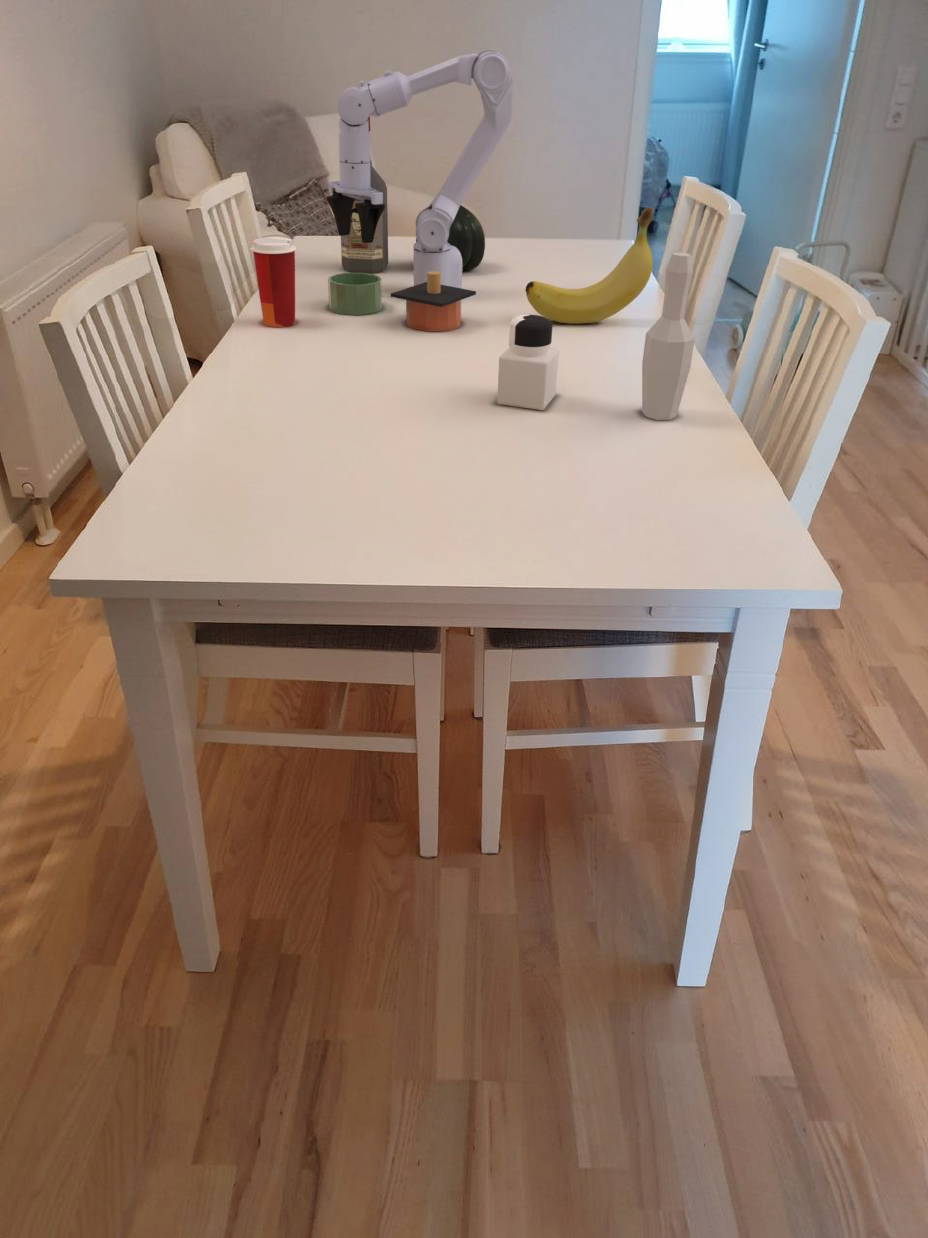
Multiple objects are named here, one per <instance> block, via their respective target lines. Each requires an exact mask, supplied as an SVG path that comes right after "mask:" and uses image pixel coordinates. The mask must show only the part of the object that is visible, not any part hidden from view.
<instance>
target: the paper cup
mask: <svg viewBox="0 0 928 1238" xmlns="http://www.w3.org/2000/svg"><path fill="white" fill-rule="evenodd" d="M251 245H252V246H251V247H250V248H249V249H250V250H251V252H253V259H254V267H255V273H256V281H257V289H258V295H259V302H260V309H261V315H262V322H263V324H264V325H265V326H267V327H271V328H287V327H291V326H293V325H295V324H296V252H295V251H297V246H296V245H295V243H294V240H293V239H292V238H289V237H282V236H265V237H260V238H256V239H254V240H253V242H252V243H251Z"/></svg>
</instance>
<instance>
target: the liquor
mask: <svg viewBox="0 0 928 1238" xmlns="http://www.w3.org/2000/svg"><path fill="white" fill-rule="evenodd" d="M368 120H369V132H371V115H370V116H369V117H368ZM370 187H371V188H373V189H375V190H377V191H379V192H382V193H383V204H385V209H384V210H383V212H382V214H381V216H380V218H379V221H378V224H377V227H376V231H375V235H374V239H373V242H371V243H363V242H362V238H361V226H360V220H359V215H358V212H357V209H356V207H355V203H364V201H363V200H359V199H356V198H355V201H354V204H353V208H352V213H351V228H350V234H349V235H344V236H340V254H341V255H340V256H341V267H342V268H343V270H344V271H346V272H348V273H368V274H378V273H382V272H383V271H385V269H387V266H388V264H389V228H388V227H389V224H388V223H389V221H388V219H389V218H388V217H389V216H388V186H387V184H386V181H384V179H383V178H382V176H381V175H380V174H379V173H378V171H376V169H375V167H374V166H373V161H372V159H371V158H370Z"/></svg>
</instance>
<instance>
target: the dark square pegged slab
mask: <svg viewBox="0 0 928 1238" xmlns="http://www.w3.org/2000/svg"><path fill="white" fill-rule="evenodd" d="M476 295H477V291H476V290H473V289H472V290H471V289H465V288H462V289H461V288H456V287H451V286H445V285H441V273H440V272H438V271H429V272H427V282H425V283H422V284H418V285H415V286H414V285H413V286H410V287H406V288H403V289H400V290H398V291H393V292H391V293H390V298H394V299H400V300H405V301H406V300H409V301H414V302H419V303H424V304H429V305H434V306H439V307H443V306H446V305H449V304H452V303H454V302H457V301H460V300H461V301H463V300H465V299H468V298H471V297H474V296H476Z"/></svg>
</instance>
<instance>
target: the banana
mask: <svg viewBox="0 0 928 1238" xmlns="http://www.w3.org/2000/svg"><path fill="white" fill-rule="evenodd" d="M654 212H655V210H654V208H653V207H645V208H644V209H643V210H642V213H641V214H640V216H638V217H637V218H636V222H637V223H638V232H637V235H636V238H635V240H634V243H633V244H632V245H631V246H630V247H629V249H628V250H626V253H625V254H624V255H623V257H622V258H621V260H620V261H619V262H618V263H617V265H616V266H615V267H614V268H613V270H612V271H610V273H609V274H607V275H606V276H604V278H602V279H601V280H600V281H598V282H596V283H594V284H592V285H589V286H586V287H581V288H563V287H559V286H556V285H553V284H548V283H546V282H540V281H536V280H533V281H530V282H528V283H527V284H526V286H525V295H526V299H527V300H528V303H529V304H530V306H531V307H532V308H533V309H534V310H535V311H536V312H537V314H539V315H540V316H543V317H545V318H547V319H549V320H550V321H553V322H558V323H561V324H568V325H569V324H571V325H572V324H573V325H574V324H575V325H579V324H591V323H596V322H600V321H603V320H605V319H608V318H610V317H612V316H614V315H616V314H617V313H619V312H620V311H622V310H623V309H625V308H626V307H627V306H629V305H630V304H631V303H632V302H633V301H634V300H635V299H637V298H638V296H640V294H641V293H642V292H643V291H644V289H645V287H646V286H647V285H648V282H649V280H650V278H651V275H652V271H653V255H652V251H651V247H650V245H649V242H648V238H647V231H648V227H649V225H650V223H652V219H653V214H654Z"/></svg>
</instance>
